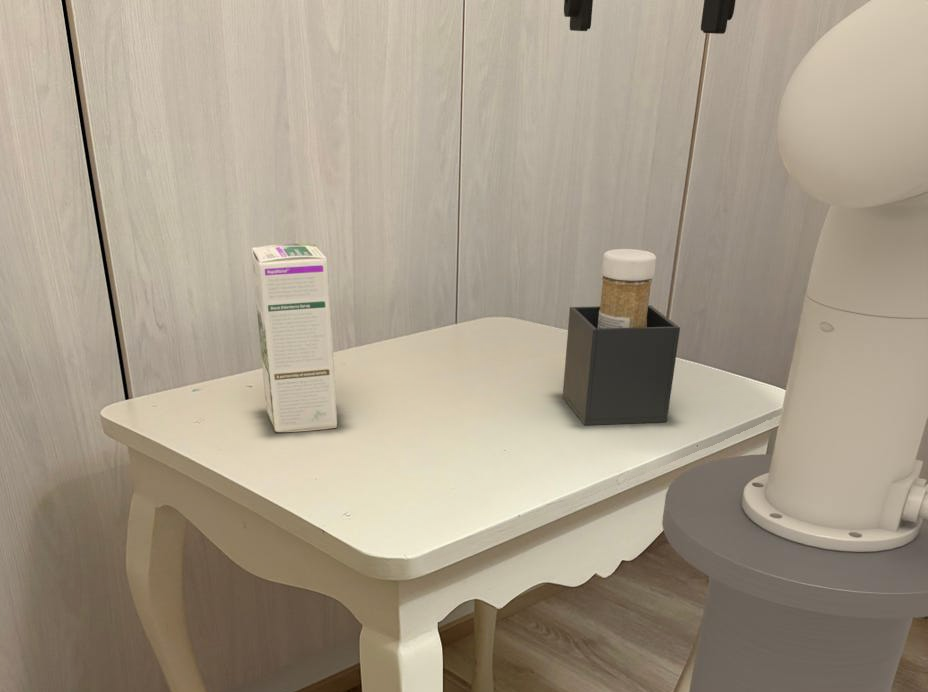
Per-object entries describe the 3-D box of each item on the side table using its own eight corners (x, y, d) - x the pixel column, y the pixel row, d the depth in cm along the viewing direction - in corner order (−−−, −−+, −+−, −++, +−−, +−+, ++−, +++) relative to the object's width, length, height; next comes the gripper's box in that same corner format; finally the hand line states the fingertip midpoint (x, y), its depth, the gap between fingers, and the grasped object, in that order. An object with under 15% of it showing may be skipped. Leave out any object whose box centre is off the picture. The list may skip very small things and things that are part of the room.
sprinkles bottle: (647, 408, 92) (667, 255, 85) (606, 414, 90) (623, 259, 83) (619, 393, 96) (636, 245, 88) (579, 399, 94) (593, 249, 87)
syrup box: (339, 428, 87) (332, 255, 80) (272, 434, 86) (258, 258, 78) (327, 407, 92) (319, 241, 84) (263, 412, 91) (249, 244, 83)
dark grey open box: (639, 394, 97) (651, 305, 92) (667, 422, 90) (680, 327, 86) (562, 397, 96) (569, 306, 91) (584, 425, 89) (593, 329, 85)
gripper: (557, -327, 56) (537, 30, 65) (845, -307, 58) (786, 35, 67) (528, -293, 62) (514, 28, 71) (789, -276, 64) (743, 33, 74)
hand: (646, 31), depth 69 cm, fingers open, 9 cm apart
